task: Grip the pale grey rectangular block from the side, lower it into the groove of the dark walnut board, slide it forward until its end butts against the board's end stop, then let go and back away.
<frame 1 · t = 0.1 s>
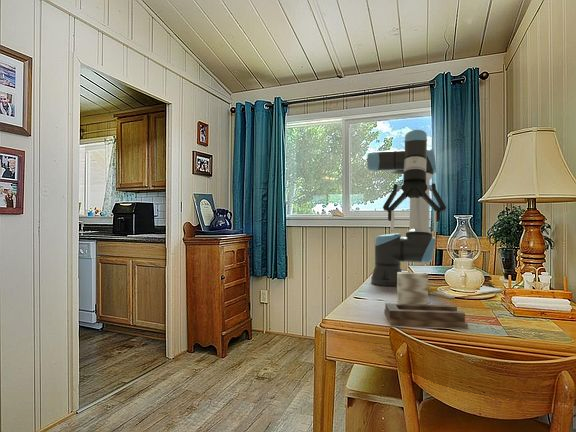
hand: (413, 230, 125), 28 cm above the table, tool tilted 20°, fingers open, 13 cm apart
pale grey rectangular block: (412, 306, 134), on the table
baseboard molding: (464, 294, 157), on the table
groove board: (423, 319, 118), on the table
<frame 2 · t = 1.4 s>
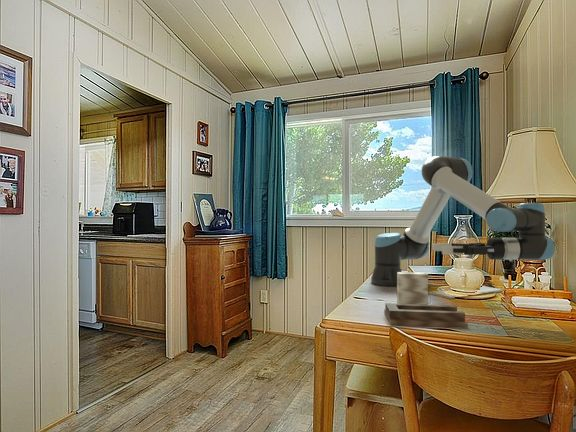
hand: (437, 248, 132), 21 cm above the table, tool horizontal, fingers open, 13 cm apart
nothing on the table moved.
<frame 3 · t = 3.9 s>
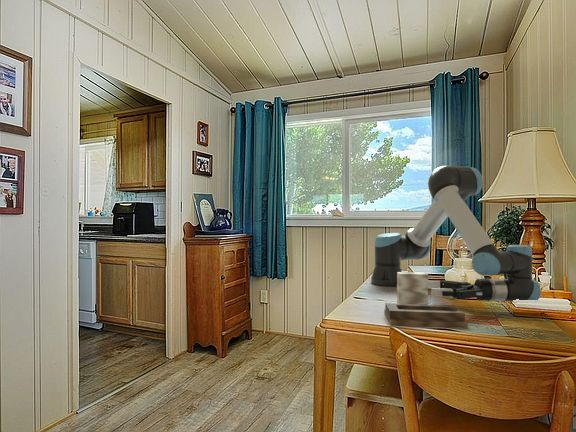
hand: (426, 288, 132), 7 cm above the table, tool horizontal, fingers open, 13 cm apart
nothing on the table moved.
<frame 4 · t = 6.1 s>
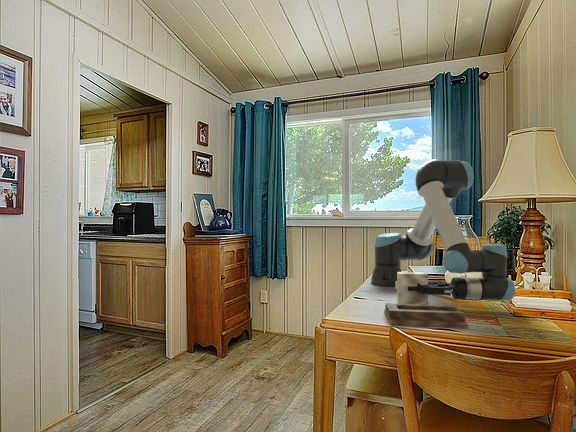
hand: (396, 286, 134), 7 cm above the table, tool horizontal, fingers closed on pale grey rectangular block, 3 cm apart
pale grey rectangular block: (412, 306, 134), on the table, touching gripper
everything else where it was.
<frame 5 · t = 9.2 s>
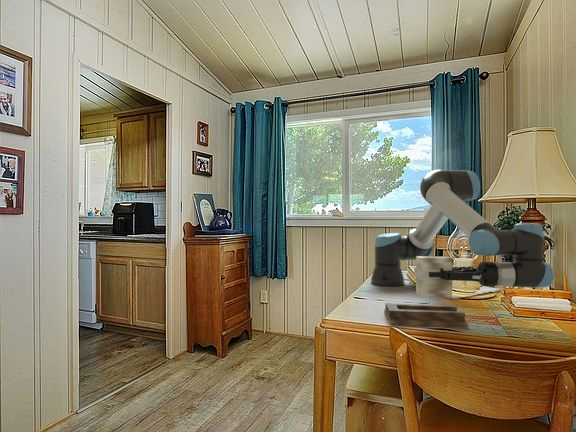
hand: (415, 272, 118), 15 cm above the table, tool horizontal, fingers closed on pale grey rectangular block, 3 cm apart
pale grey rectangular block: (433, 295, 117), point 8 cm above the table, touching gripper
everything else where it was.
when the fingers open (9 cm above the table, at t = 12.2 s): pale grey rectangular block stays where it is, resting on groove board.
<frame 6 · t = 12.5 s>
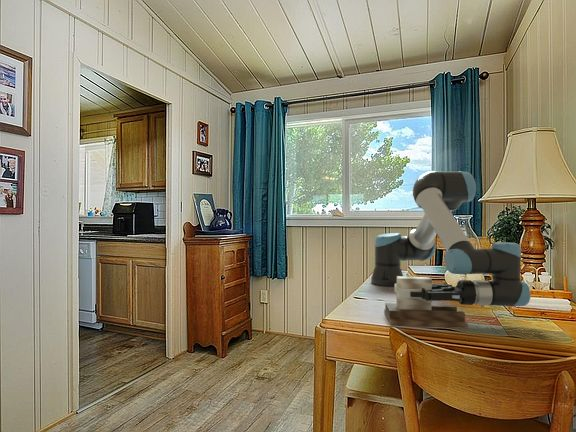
hand: (396, 290, 118), 9 cm above the table, tool horizontal, fingers open, 7 cm apart
pale grey rectangular block: (413, 315, 118), point 1 cm above the table, touching groove board
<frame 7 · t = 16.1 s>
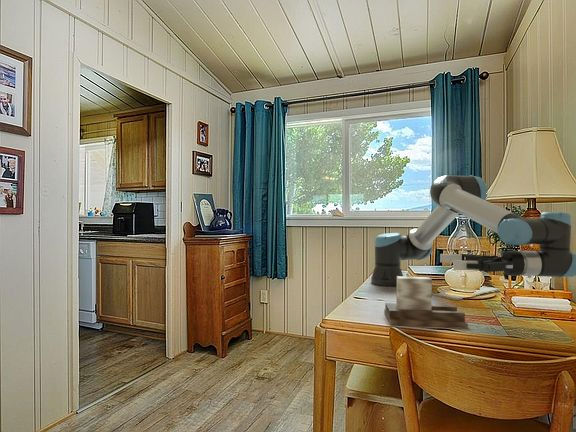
hand: (446, 261, 116), 19 cm above the table, tool horizontal, fingers open, 13 cm apart
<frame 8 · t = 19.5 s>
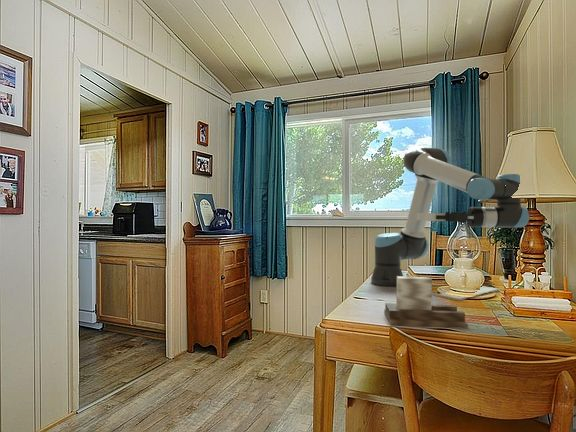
hand: (421, 216, 141), 32 cm above the table, tool horizontal, fingers open, 13 cm apart
at the end: pale grey rectangular block 0.4 cm from the target spot on the groove board, point 1.2 cm above the groove board's base; pale grey rectangular block tilted 0°; the gripper is holding nothing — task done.
